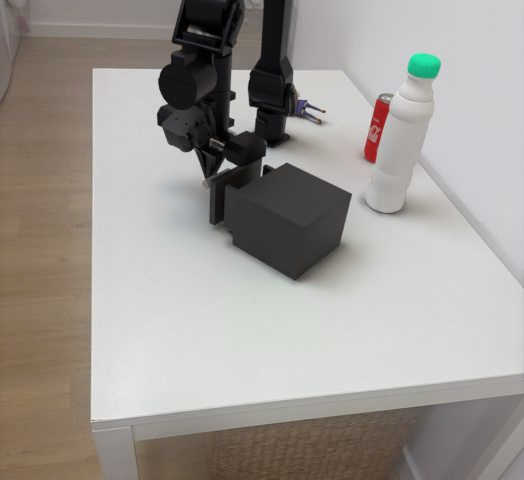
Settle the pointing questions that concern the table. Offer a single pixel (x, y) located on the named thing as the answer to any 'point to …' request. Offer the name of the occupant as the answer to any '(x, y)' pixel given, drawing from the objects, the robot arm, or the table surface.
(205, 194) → the table surface
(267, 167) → the drawer
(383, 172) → the water bottle
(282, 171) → the cabinet
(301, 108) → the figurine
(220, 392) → the table surface
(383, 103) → the beverage can
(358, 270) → the table surface
